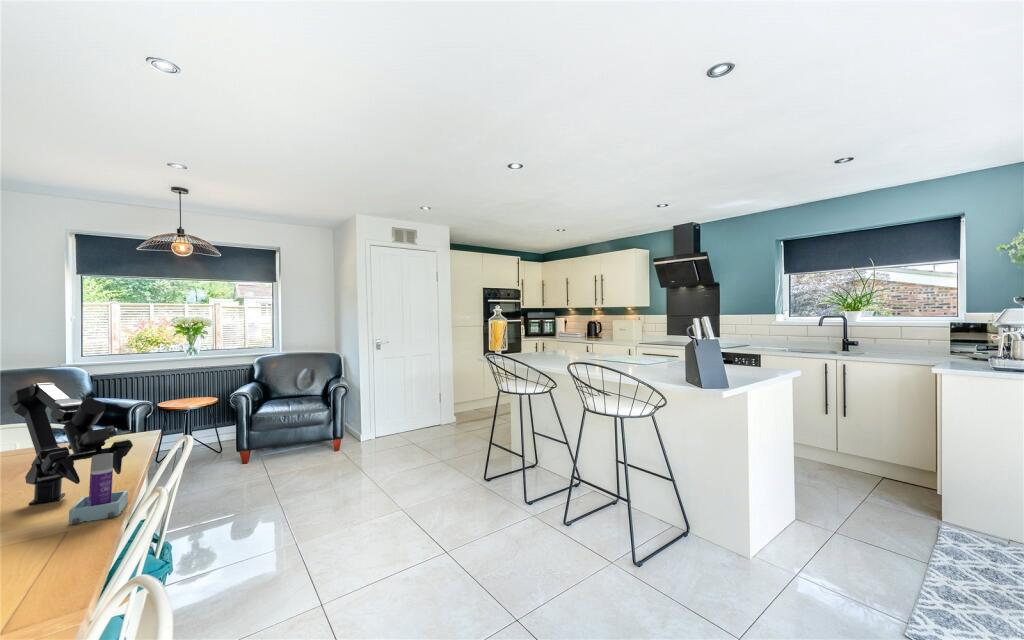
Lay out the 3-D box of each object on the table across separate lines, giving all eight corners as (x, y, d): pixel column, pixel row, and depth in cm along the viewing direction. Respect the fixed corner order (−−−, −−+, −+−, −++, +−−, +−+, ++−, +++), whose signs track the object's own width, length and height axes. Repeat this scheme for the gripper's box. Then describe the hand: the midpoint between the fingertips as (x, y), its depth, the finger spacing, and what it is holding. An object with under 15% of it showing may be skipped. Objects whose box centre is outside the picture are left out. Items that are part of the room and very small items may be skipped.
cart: (83, 508, 123) (83, 495, 123) (128, 501, 129) (128, 489, 129) (66, 526, 111) (67, 512, 111) (117, 517, 116) (118, 503, 117)
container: (101, 510, 118) (104, 456, 119) (83, 511, 117) (86, 457, 118) (115, 504, 122) (118, 452, 123) (97, 504, 122) (100, 453, 123)
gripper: (49, 424, 115) (67, 469, 110) (131, 413, 132) (150, 452, 128) (33, 450, 117) (50, 495, 113) (115, 436, 135) (133, 475, 130)
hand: (99, 478), depth 121 cm, fingers open, 9 cm apart
